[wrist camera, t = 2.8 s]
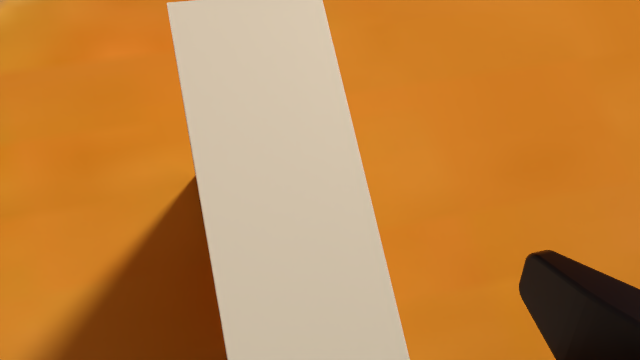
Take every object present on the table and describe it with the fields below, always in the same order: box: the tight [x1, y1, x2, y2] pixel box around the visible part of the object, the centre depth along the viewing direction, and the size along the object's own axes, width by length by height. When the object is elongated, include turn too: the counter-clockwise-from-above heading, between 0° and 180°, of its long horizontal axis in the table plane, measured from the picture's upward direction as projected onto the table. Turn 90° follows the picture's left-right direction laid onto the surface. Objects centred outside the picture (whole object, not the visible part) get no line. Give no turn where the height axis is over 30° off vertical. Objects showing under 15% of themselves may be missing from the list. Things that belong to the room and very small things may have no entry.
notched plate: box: [167, 0, 410, 360], centre depth 12 cm, size 8×2×10 cm, turn 13°
